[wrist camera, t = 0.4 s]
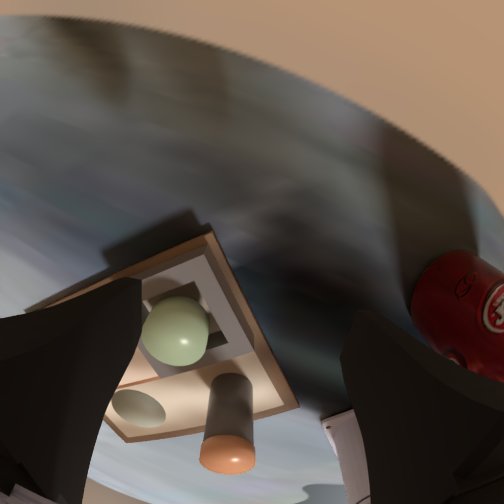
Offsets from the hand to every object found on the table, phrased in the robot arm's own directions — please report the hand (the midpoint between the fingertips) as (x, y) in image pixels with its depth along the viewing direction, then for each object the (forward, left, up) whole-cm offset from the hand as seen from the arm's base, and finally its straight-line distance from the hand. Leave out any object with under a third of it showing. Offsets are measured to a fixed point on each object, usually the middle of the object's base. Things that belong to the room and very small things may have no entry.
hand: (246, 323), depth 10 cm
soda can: (-10, -12, -10) cm, 19 cm away
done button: (-3, +6, -8) cm, 10 cm away
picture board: (-7, +11, -10) cm, 16 cm away
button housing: (-3, +6, -9) cm, 11 cm away
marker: (-10, +6, -9) cm, 15 cm away
